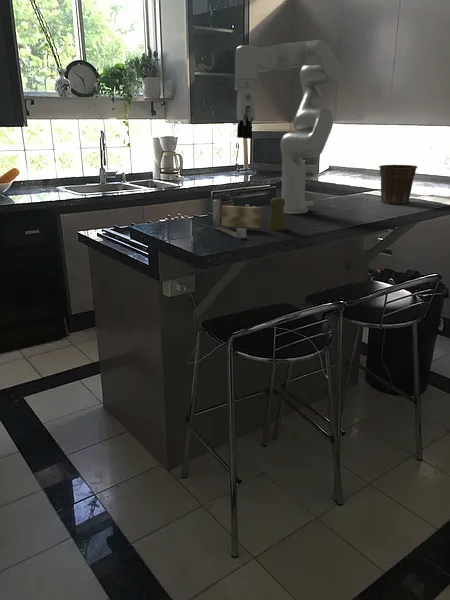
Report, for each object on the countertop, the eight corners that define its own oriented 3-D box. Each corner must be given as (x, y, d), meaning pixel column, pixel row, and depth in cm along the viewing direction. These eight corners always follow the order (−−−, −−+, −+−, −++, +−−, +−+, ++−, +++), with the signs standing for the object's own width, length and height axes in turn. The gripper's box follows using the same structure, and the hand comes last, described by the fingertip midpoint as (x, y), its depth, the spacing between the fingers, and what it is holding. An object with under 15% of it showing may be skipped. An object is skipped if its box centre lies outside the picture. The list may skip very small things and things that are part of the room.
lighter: (233, 218, 201) (233, 192, 197) (233, 220, 198) (233, 194, 194) (212, 219, 201) (212, 193, 197) (212, 220, 197) (212, 194, 194)
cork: (264, 228, 183) (265, 197, 180) (275, 226, 187) (276, 195, 184) (277, 231, 179) (278, 199, 176) (288, 228, 183) (290, 197, 180)
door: (221, 225, 184) (221, 206, 181) (223, 224, 186) (223, 204, 184) (259, 228, 180) (259, 208, 178) (261, 226, 183) (261, 206, 180)
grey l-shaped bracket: (212, 227, 186) (211, 199, 182) (218, 226, 187) (217, 199, 183) (239, 238, 169) (240, 208, 166) (246, 237, 170) (246, 207, 167)
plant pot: (368, 202, 235) (371, 165, 230) (390, 198, 244) (393, 163, 239) (398, 206, 223) (402, 168, 217) (420, 202, 232) (425, 166, 226)
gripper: (262, 84, 168) (260, 138, 174) (251, 87, 185) (249, 137, 190) (240, 83, 167) (238, 138, 173) (230, 87, 183) (229, 137, 189)
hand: (244, 138), depth 181 cm, fingers open, 9 cm apart
